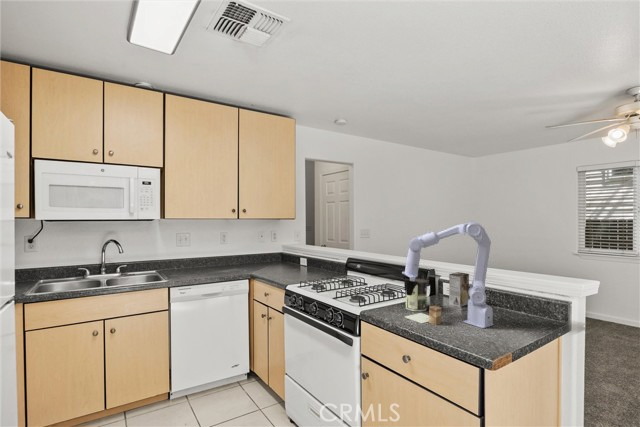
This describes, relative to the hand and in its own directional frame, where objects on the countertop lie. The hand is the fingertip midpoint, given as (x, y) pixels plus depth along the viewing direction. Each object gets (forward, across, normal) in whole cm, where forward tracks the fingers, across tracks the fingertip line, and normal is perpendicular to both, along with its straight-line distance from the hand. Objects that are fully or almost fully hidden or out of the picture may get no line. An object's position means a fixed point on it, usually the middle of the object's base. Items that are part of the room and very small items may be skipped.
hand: (407, 292), depth 158 cm
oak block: (+9, +8, +12) cm, 17 cm away
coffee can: (+10, -12, +7) cm, 18 cm away
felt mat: (+10, +3, +7) cm, 12 cm away
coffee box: (+8, -24, +30) cm, 39 cm away
